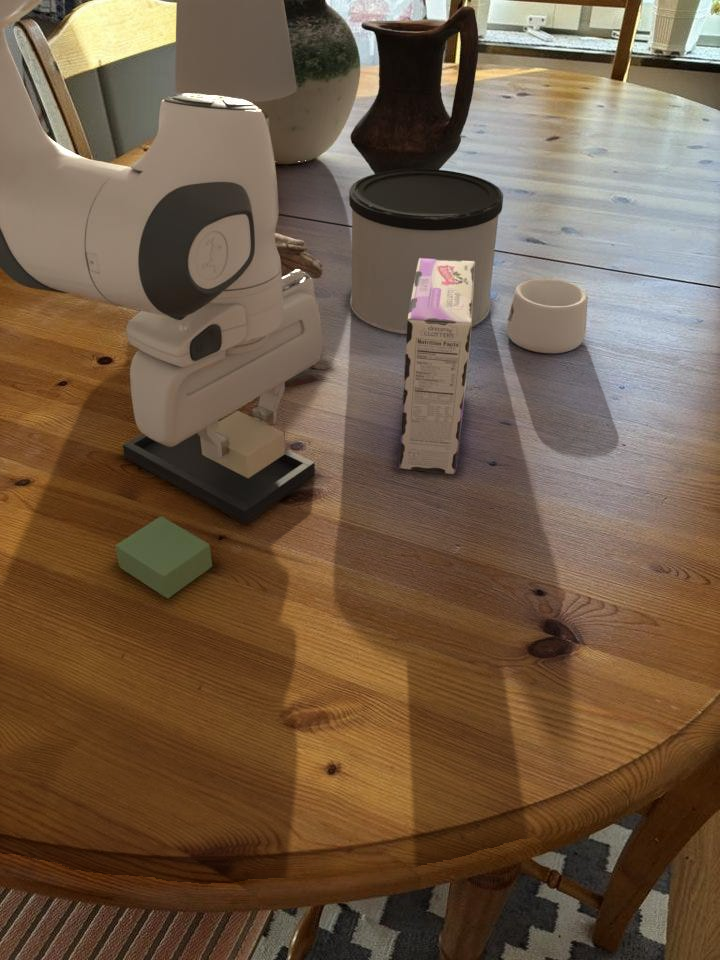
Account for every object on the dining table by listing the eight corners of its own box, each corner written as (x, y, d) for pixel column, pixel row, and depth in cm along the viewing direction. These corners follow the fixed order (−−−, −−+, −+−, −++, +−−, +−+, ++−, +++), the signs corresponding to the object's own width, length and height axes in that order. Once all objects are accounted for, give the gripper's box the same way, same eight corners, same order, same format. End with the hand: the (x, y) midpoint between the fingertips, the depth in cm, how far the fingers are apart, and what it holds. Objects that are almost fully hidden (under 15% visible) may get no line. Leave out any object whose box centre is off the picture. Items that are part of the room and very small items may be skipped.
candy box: (410, 397, 95) (418, 255, 85) (463, 402, 94) (477, 259, 85) (397, 470, 84) (404, 316, 74) (457, 475, 83) (473, 321, 74)
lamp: (219, 179, 156) (201, -39, 135) (316, 191, 151) (312, -33, 130) (166, 212, 141) (137, -26, 121) (272, 228, 136) (259, -18, 116)
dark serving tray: (245, 525, 77) (244, 511, 76) (124, 457, 85) (122, 444, 84) (315, 475, 83) (314, 462, 82) (195, 417, 91) (194, 404, 90)
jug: (327, 199, 147) (326, 1, 130) (387, 173, 160) (393, -12, 142) (433, 226, 138) (447, 15, 120) (487, 195, 150) (508, 1, 132)
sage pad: (167, 599, 69) (164, 576, 68) (119, 567, 72) (114, 545, 71) (212, 566, 73) (210, 544, 71) (164, 537, 75) (161, 515, 74)
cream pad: (248, 478, 78) (246, 456, 76) (202, 454, 81) (199, 432, 79) (285, 454, 81) (284, 432, 79) (239, 432, 84) (237, 410, 82)
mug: (585, 359, 103) (594, 313, 99) (504, 352, 104) (509, 306, 100) (581, 315, 112) (589, 272, 109) (506, 309, 113) (512, 266, 110)
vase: (365, 139, 177) (368, -29, 160) (351, 183, 155) (352, -8, 137) (230, 134, 179) (218, -32, 162) (196, 176, 157) (177, -12, 139)
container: (385, 266, 125) (388, 160, 116) (509, 291, 118) (523, 181, 109) (323, 317, 111) (322, 201, 102) (461, 349, 104) (472, 228, 95)
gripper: (285, 254, 80) (291, 384, 88) (108, 333, 67) (134, 476, 75) (338, 272, 77) (339, 404, 85) (162, 358, 64) (184, 505, 72)
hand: (241, 439), depth 80 cm, fingers closed on cream pad, 5 cm apart
